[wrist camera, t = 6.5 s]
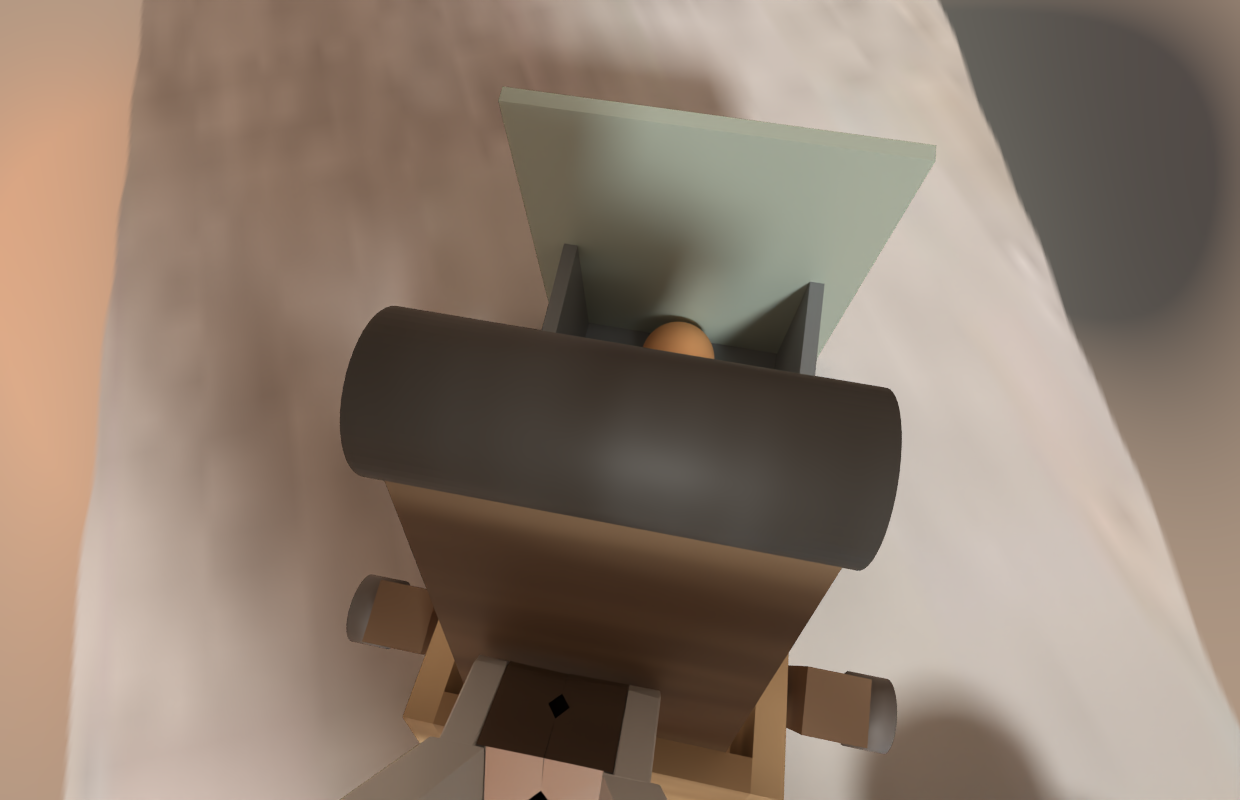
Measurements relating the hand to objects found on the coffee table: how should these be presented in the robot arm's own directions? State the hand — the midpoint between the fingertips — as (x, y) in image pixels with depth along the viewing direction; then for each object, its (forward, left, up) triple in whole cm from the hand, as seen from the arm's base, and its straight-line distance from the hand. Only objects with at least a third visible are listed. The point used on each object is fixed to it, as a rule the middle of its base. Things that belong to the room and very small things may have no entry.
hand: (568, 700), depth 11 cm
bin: (+12, 0, -22) cm, 25 cm away
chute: (+2, 0, -9) cm, 9 cm away
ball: (+15, 0, -19) cm, 24 cm away
